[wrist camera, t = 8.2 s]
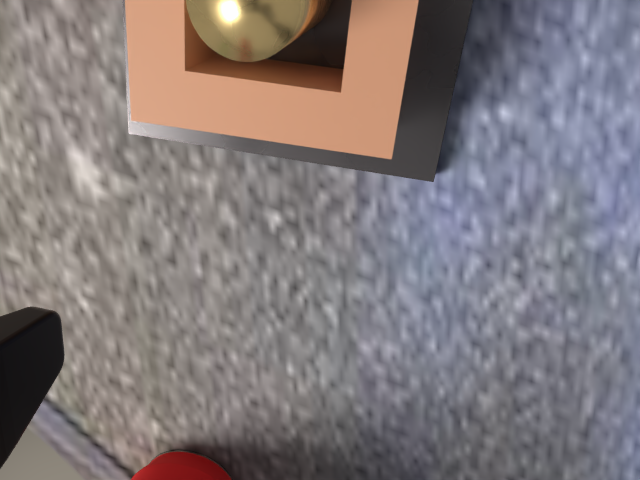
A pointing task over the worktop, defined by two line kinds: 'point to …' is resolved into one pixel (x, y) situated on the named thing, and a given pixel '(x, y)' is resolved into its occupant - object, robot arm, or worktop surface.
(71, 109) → the worktop surface
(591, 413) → the worktop surface
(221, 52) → the black plate with peg
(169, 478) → the beverage can
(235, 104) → the ring
